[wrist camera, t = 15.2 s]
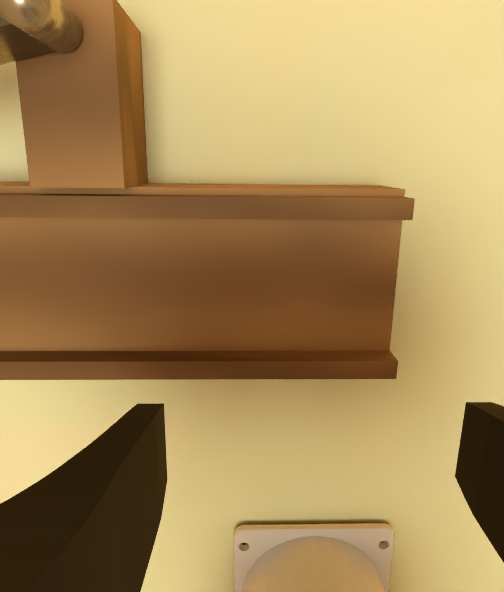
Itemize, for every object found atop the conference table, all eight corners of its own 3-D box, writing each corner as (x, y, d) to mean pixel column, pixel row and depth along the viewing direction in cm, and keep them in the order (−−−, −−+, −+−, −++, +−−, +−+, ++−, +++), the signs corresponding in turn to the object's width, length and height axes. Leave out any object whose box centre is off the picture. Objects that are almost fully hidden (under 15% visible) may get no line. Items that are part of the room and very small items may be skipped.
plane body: (366, 344, 21) (395, 384, 17) (7, 345, 21) (-46, 386, 17) (392, 37, 18) (434, 1, 14) (-37, 28, 17) (-116, -10, 13)
